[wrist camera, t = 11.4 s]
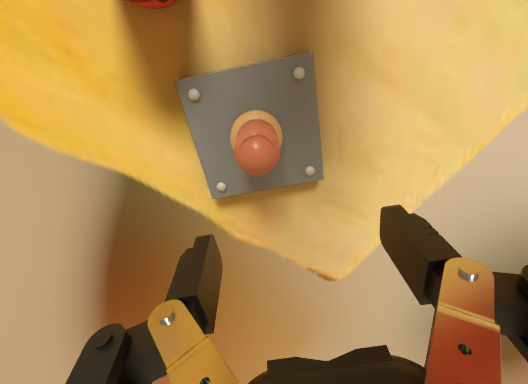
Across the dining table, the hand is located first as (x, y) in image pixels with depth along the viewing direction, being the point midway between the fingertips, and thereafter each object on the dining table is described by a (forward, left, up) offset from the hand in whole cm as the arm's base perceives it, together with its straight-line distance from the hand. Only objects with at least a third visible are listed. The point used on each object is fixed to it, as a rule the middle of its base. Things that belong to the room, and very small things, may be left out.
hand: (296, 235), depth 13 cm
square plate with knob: (+1, -2, -23) cm, 24 cm away
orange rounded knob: (+1, -2, -19) cm, 20 cm away
